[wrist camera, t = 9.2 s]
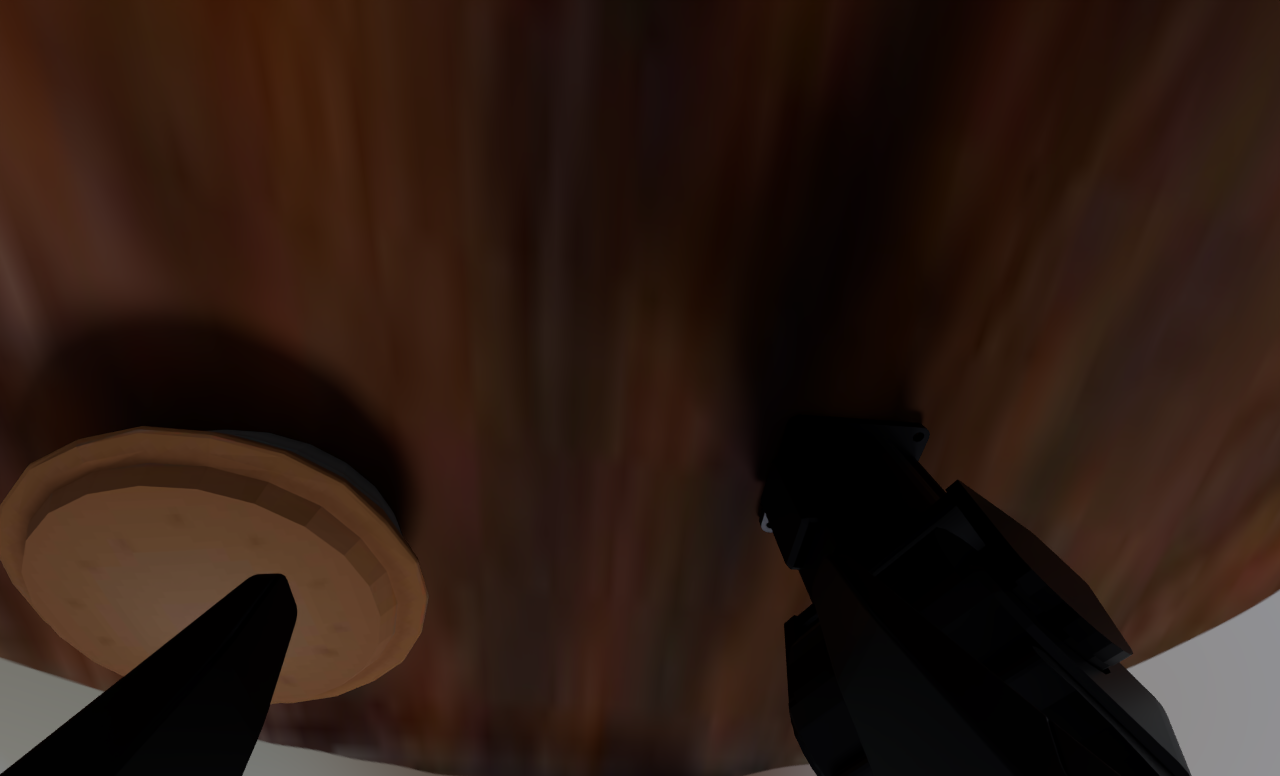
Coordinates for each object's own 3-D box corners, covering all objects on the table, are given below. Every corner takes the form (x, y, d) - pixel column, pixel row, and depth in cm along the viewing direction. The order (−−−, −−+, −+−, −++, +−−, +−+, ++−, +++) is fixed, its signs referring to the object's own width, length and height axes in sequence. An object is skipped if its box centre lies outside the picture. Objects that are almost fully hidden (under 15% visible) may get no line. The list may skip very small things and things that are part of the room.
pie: (357, 671, 29) (314, 770, 25) (38, 553, 24) (-87, 652, 20) (511, 504, 24) (491, 591, 20) (153, 306, 19) (17, 367, 15)
